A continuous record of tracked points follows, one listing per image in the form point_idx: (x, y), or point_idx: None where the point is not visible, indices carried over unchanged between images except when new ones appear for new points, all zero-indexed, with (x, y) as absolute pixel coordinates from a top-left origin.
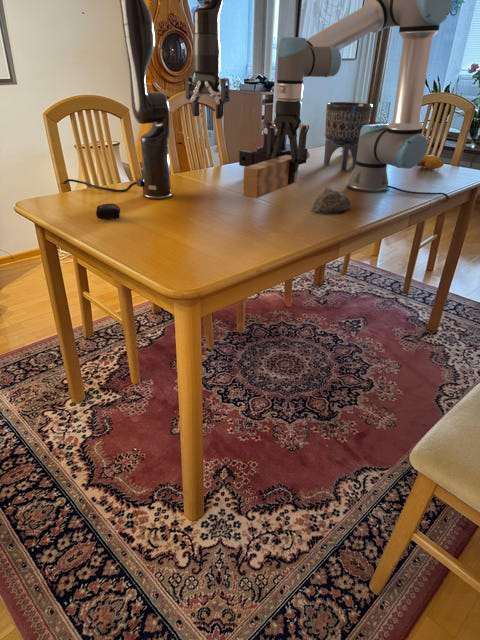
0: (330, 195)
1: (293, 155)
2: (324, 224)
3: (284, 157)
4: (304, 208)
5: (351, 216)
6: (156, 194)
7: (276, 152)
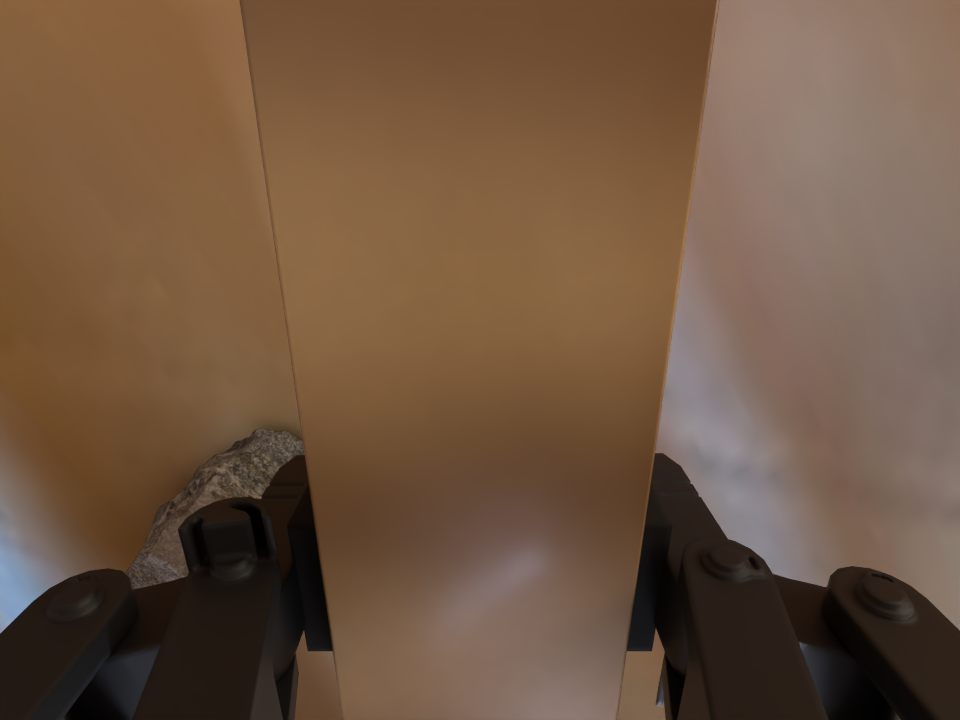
0: (155, 537)
1: (194, 650)
2: (98, 249)
3: (506, 647)
4: None
5: (97, 493)
6: None
7: (698, 671)
